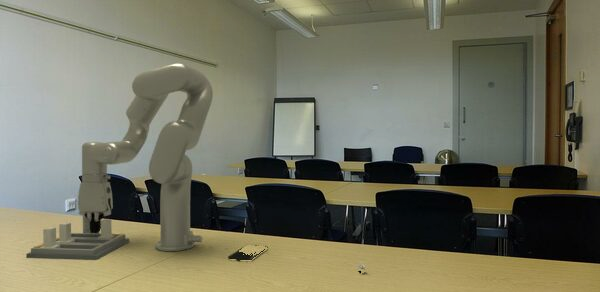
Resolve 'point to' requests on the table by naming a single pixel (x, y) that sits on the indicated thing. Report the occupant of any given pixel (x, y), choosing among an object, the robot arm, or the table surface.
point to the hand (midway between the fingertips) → (95, 232)
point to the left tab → (49, 238)
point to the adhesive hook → (361, 266)
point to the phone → (243, 257)
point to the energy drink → (86, 225)
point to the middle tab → (65, 233)
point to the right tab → (106, 229)
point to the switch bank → (80, 247)
